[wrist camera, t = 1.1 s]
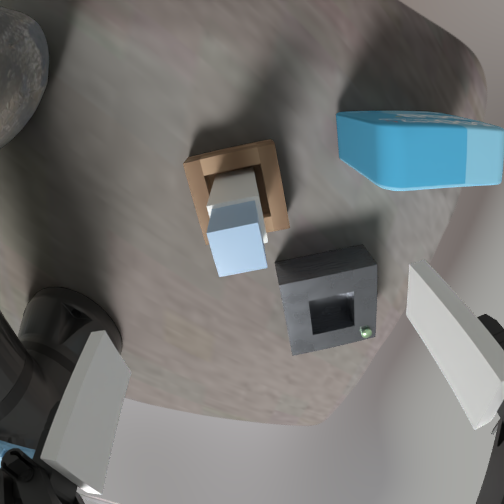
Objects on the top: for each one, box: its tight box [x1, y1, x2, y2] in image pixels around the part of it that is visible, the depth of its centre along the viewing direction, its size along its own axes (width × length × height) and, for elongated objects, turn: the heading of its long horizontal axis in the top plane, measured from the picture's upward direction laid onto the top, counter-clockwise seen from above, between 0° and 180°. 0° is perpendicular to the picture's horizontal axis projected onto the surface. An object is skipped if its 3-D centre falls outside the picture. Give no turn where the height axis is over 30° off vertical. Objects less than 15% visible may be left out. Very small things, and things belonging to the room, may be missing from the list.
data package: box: [336, 111, 504, 191], centre depth 23 cm, size 12×4×12 cm, turn 97°
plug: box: [206, 167, 268, 277], centre depth 25 cm, size 4×4×13 cm
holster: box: [183, 139, 290, 245], centre depth 30 cm, size 8×8×3 cm
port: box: [275, 245, 377, 356], centre depth 35 cm, size 10×10×5 cm
